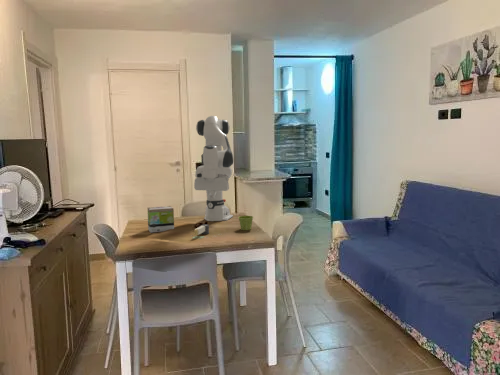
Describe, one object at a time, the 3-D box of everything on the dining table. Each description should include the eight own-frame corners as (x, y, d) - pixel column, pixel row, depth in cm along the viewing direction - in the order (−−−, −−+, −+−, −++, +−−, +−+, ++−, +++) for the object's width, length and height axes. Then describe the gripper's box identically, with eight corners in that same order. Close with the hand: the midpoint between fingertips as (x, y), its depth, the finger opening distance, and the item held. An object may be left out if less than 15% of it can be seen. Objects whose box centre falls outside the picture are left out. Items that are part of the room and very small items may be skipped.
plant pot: (236, 229, 250) (236, 216, 249) (251, 228, 253) (250, 215, 252) (240, 233, 242) (240, 219, 241) (255, 231, 244) (255, 217, 243)
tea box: (150, 233, 247) (149, 209, 245) (148, 230, 256) (146, 207, 254) (174, 230, 252) (173, 207, 251) (171, 227, 262) (170, 205, 260)
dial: (199, 229, 254) (199, 227, 254) (233, 232, 243) (233, 230, 243) (175, 238, 232) (175, 236, 232) (211, 242, 221) (211, 240, 221)
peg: (203, 232, 241) (202, 224, 240) (210, 232, 239) (210, 224, 238) (191, 238, 226) (191, 229, 226) (199, 238, 225) (199, 230, 224)
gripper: (230, 173, 227) (230, 197, 228) (197, 173, 233) (198, 196, 235) (226, 174, 221) (227, 199, 222) (192, 174, 227) (193, 198, 229)
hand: (212, 198), depth 229 cm, fingers closed
